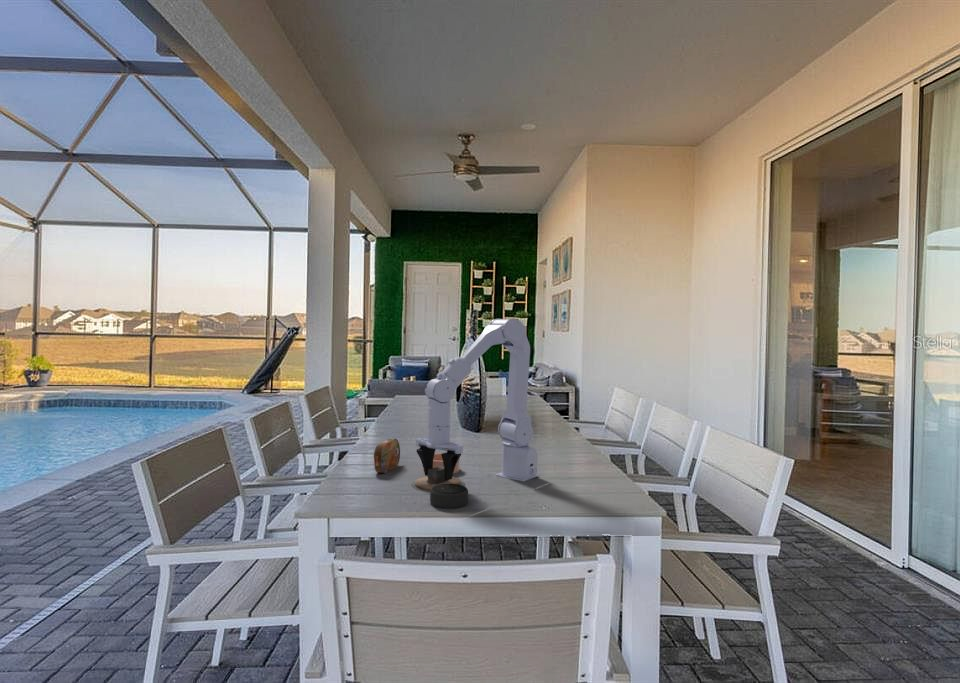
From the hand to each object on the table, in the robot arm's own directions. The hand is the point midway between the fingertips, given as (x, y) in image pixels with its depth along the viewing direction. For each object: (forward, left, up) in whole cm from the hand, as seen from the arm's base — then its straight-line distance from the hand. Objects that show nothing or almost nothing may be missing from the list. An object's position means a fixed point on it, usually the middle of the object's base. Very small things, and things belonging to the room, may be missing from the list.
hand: (438, 477), depth 148 cm
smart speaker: (-12, +10, -3) cm, 16 cm away
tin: (+22, -3, -2) cm, 22 cm away
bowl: (+9, -12, -2) cm, 15 cm away
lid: (0, 0, -2) cm, 2 cm away
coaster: (0, 0, -2) cm, 2 cm away
